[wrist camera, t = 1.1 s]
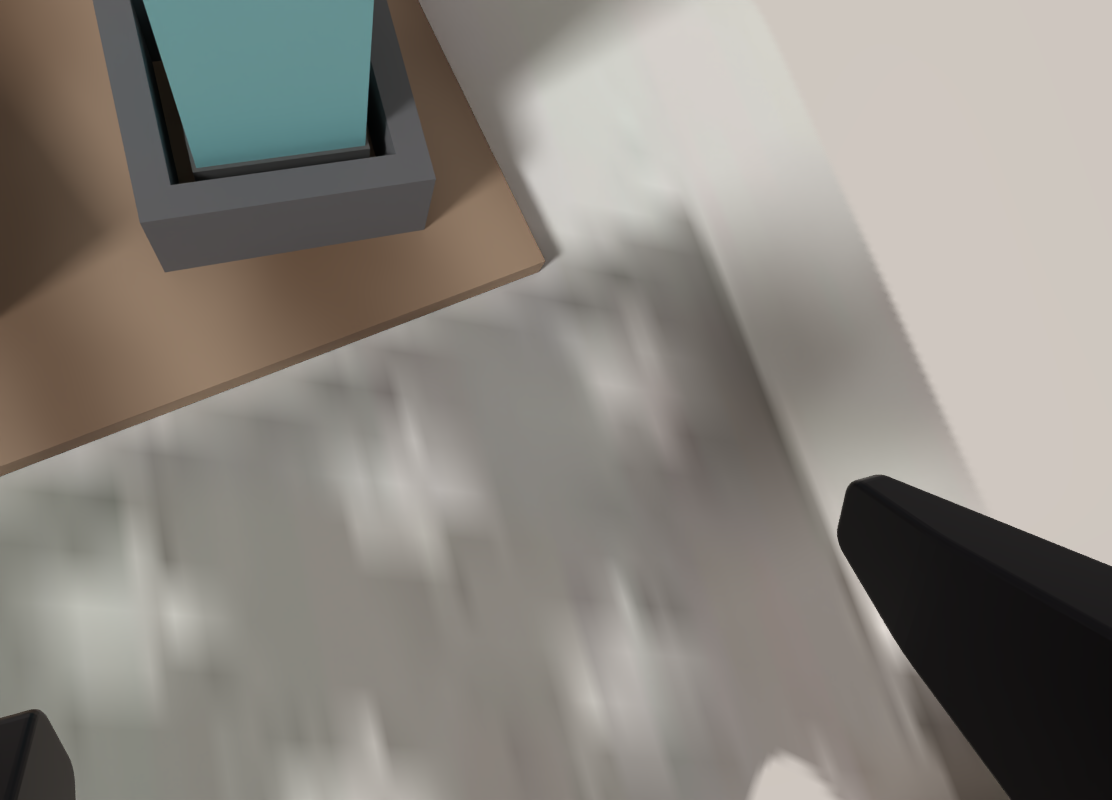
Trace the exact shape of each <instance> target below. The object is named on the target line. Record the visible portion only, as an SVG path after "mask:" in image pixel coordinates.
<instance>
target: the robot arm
mask: <svg viewBox="0 0 1112 800" xmlns="http://www.w3.org/2000/svg"><path fill="white" fill-rule="evenodd" d="M837 537H838V542H839V545H840V548H841V550H842V552H843V554H844V555H845V557H846V559H847V560H848V562H849V564H850V565H851V567H852V569H853V570H854V572H855V574H856V575H857V577H858V579H859V581H860V582H861V584H862V586H863V587H864V589H865V591H866V592H867V594H868V596H869V597H870V599H871V601H872V602H873V604H874V606H875V607H876V609H877V611H878V613H879V614H880V616H881V618H882V619H883V621H884V623H885V624H886V626H887V628H888V629H889V631H890V633H891V634H892V636H893V638H894V639H895V641H896V642H897V644H898V645H899V647H900V649H901V650H902V652H903V653H904V655H905V656H906V657H907V659H908V660H909V662H910V663H911V665H912V666H913V667H914V669H915V670H916V672H917V673H918V674H919V676H920V677H921V678H922V680H923V681H924V682H925V684H926V685H927V687H928V688H929V689H930V691H931V692H932V693H933V695H934V696H935V697H936V699H937V700H938V701H939V703H940V704H941V706H942V707H943V708H944V710H945V711H946V712H947V714H948V715H949V716H950V718H951V719H952V720H953V722H954V723H955V725H956V726H957V727H958V729H959V730H960V731H961V733H962V734H963V735H964V737H965V738H966V739H967V741H968V742H969V744H970V745H971V746H972V748H973V749H974V750H975V752H976V753H977V754H978V756H979V757H980V758H981V760H982V761H983V763H984V764H985V765H986V767H987V768H988V769H989V771H990V772H991V773H992V775H993V776H994V777H995V779H996V780H997V781H998V783H999V784H1000V786H1001V787H1002V788H1003V790H1004V791H1005V792H1006V794H1007V795H1008V796H1009V798H1010V799H1011V800H1112V566H1110V565H1107V564H1105V563H1102V562H1099V561H1097V560H1095V559H1092V558H1089V557H1087V556H1084V555H1082V554H1080V553H1077V552H1075V551H1072V550H1070V549H1067V548H1065V547H1062V546H1060V545H1057V544H1055V543H1052V542H1050V541H1047V540H1045V539H1042V538H1040V537H1037V536H1035V535H1032V534H1030V533H1027V532H1025V531H1022V530H1020V529H1017V528H1015V527H1012V526H1010V525H1008V524H1005V523H1002V522H1000V521H997V520H995V519H993V518H990V517H988V516H985V515H983V514H980V513H978V512H975V511H973V510H970V509H968V508H965V507H963V506H960V505H958V504H955V503H953V502H950V501H948V500H945V499H943V498H940V497H938V496H935V495H933V494H930V493H928V492H925V491H923V490H920V489H918V488H915V487H913V486H910V485H908V484H905V483H903V482H900V481H898V480H896V479H893V478H891V477H888V476H885V475H873V476H869V477H866V478H862V479H859V480H855V481H853V482H851V483H850V485H849V486H848V487H847V490H846V493H845V497H844V502H843V506H842V510H841V515H840V519H839V524H838V528H837ZM0 800H76V799H75V778H74V772H73V767H72V764H71V761H70V758H69V756H68V754H67V753H66V751H65V749H64V747H63V745H62V743H61V742H60V740H59V738H58V736H57V734H56V732H55V731H54V729H53V727H52V725H51V723H50V721H49V720H48V718H47V716H46V715H45V714H44V713H43V712H42V711H41V710H38V709H31V710H28V711H24V712H20V713H17V714H13V715H10V716H6V717H2V718H0Z"/></svg>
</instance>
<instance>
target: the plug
mask: <svg viewBox="0 0 1112 800" xmlns="http://www.w3.org/2000/svg"><path fill="white" fill-rule="evenodd" d="M143 2H144V5H145V8H146V12H147V15H148V18H149V21H150V24H151V27H152V30H153V34H154V37H155V40H156V43H157V46H158V49H159V52H160V56H161V59H162V62H163V65H164V68H165V71H166V74H167V78H168V81H169V84H170V87H171V90H172V93H173V96H174V100H175V103H176V106H177V109H178V112H179V115H180V118H181V123H182V127H183V132H184V136H185V141H186V145H187V149H188V154H189V158H190V163H191V167H192V172H193V175H194V178H195V181H196V182H197V181H204V180H211V179H218V178H226V177H233V176H240V175H247V174H255V173H262V172H269V171H276V170H284V169H291V168H298V167H305V166H313V165H320V164H327V163H334V162H342V161H349V160H356V159H363V158H369V157H370V146H369V142H368V139H367V135H366V123H367V107H368V90H369V73H370V57H371V40H372V24H373V7H374V0H143Z"/></svg>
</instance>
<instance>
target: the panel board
mask: <svg viewBox="0 0 1112 800" xmlns="http://www.w3.org/2000/svg"><path fill="white" fill-rule="evenodd" d="M387 3H388V7H389V10H390V14H391V17H392V21H393V25H394V28H395V32H396V36H397V39H398V43H399V46H400V50H401V54H402V57H403V61H404V65H405V68H406V72H407V76H408V79H409V83H410V86H411V90H412V94H413V97H414V101H415V105H416V108H417V112H418V115H419V119H420V123H421V126H422V130H423V134H424V137H425V141H426V145H427V148H428V152H429V155H430V159H431V163H432V166H433V170H434V174H435V177H436V181H435V185H434V190H433V194H432V198H431V203H430V207H429V212H428V216H427V220H426V225H425V229H424V230H419V231H413V232H407V233H401V234H395V235H389V236H383V237H377V238H371V239H365V240H359V241H353V242H347V243H340V244H334V245H328V246H322V247H316V248H310V249H304V250H298V251H292V252H286V253H280V254H274V255H268V256H262V257H256V258H250V259H244V260H238V261H232V262H226V263H219V264H213V265H207V266H201V267H195V268H189V269H183V270H177V271H171V272H164V270H163V268H162V266H161V264H160V262H159V260H158V258H157V256H156V254H155V252H154V250H153V248H152V246H151V244H150V242H149V240H148V238H147V236H146V234H145V232H144V230H143V228H142V226H141V224H140V222H139V217H138V212H137V208H136V203H135V198H134V194H133V189H132V184H131V179H130V175H129V170H128V165H127V161H126V156H125V151H124V146H123V142H122V137H121V132H120V128H119V123H118V118H117V113H116V109H115V104H114V99H113V95H112V90H111V85H110V81H109V76H108V71H107V66H106V62H105V57H104V52H103V48H102V43H101V38H100V33H99V29H98V24H97V19H96V15H95V10H94V5H93V0H0V476H2V475H5V474H8V473H10V472H13V471H16V470H18V469H21V468H23V467H26V466H29V465H31V464H34V463H37V462H39V461H42V460H44V459H47V458H50V457H52V456H55V455H58V454H60V453H63V452H66V451H68V450H71V449H73V448H76V447H79V446H81V445H84V444H87V443H89V442H92V441H95V440H97V439H100V438H102V437H105V436H108V435H110V434H113V433H116V432H118V431H121V430H123V429H126V428H129V427H131V426H134V425H137V424H139V423H142V422H145V421H147V420H150V419H152V418H155V417H158V416H160V415H163V414H166V413H168V412H171V411H173V410H176V409H179V408H181V407H184V406H187V405H189V404H192V403H195V402H197V401H200V400H202V399H205V398H208V397H210V396H213V395H216V394H218V393H221V392H223V391H226V390H229V389H231V388H234V387H237V386H239V385H242V384H245V383H247V382H250V381H252V380H255V379H258V378H260V377H263V376H266V375H268V374H271V373H273V372H276V371H279V370H281V369H284V368H287V367H289V366H292V365H295V364H297V363H300V362H302V361H305V360H308V359H310V358H313V357H316V356H318V355H321V354H323V353H326V352H329V351H331V350H334V349H337V348H339V347H342V346H345V345H347V344H350V343H352V342H355V341H358V340H360V339H363V338H366V337H368V336H371V335H373V334H376V333H379V332H381V331H384V330H387V329H389V328H392V327H395V326H397V325H400V324H402V323H405V322H408V321H410V320H413V319H416V318H418V317H421V316H423V315H426V314H429V313H431V312H434V311H437V310H439V309H442V308H445V307H447V306H450V305H452V304H455V303H458V302H460V301H463V300H466V299H468V298H471V297H473V296H476V295H479V294H481V293H484V292H487V291H489V290H492V289H495V288H497V287H500V286H502V285H505V284H508V283H510V282H513V281H516V280H518V279H521V278H523V277H526V276H529V275H531V274H534V273H537V272H539V271H540V269H541V268H542V266H543V264H544V263H545V260H544V257H543V255H542V253H541V251H540V249H539V247H538V245H537V243H536V241H535V239H534V237H533V235H532V233H531V231H530V229H529V227H528V225H527V223H526V221H525V219H524V217H523V214H522V212H521V210H520V208H519V206H518V204H517V202H516V200H515V198H514V196H513V194H512V192H511V190H510V188H509V186H508V184H507V182H506V180H505V178H504V176H503V173H502V171H501V169H500V167H499V165H498V163H497V161H496V159H495V157H494V155H493V153H492V151H491V149H490V147H489V145H488V143H487V141H486V139H485V137H484V135H483V132H482V130H481V128H480V126H479V124H478V122H477V120H476V118H475V116H474V114H473V112H472V110H471V108H470V106H469V104H468V102H467V100H466V98H465V96H464V94H463V91H462V89H461V87H460V85H459V83H458V81H457V79H456V77H455V75H454V73H453V71H452V69H451V67H450V65H449V63H448V61H447V59H446V57H445V55H444V53H443V50H442V48H441V46H440V44H439V42H438V40H437V38H436V36H435V34H434V32H433V30H432V28H431V26H430V24H429V22H428V20H427V18H426V16H425V14H424V12H423V9H422V7H421V5H420V3H419V1H418V0H387ZM152 63H153V67H154V72H155V76H156V81H157V85H158V90H159V94H160V99H161V103H162V108H163V112H164V117H165V121H166V126H167V130H168V135H169V140H170V144H171V149H172V153H173V158H174V162H175V167H176V171H177V176H178V180H179V184H182V183H190V182H196V181H195V178H194V175H193V172H192V167H191V163H190V158H189V154H188V149H187V145H186V141H185V136H184V132H183V127H182V123H181V118H180V115H179V112H178V109H177V106H176V103H175V100H174V96H173V93H172V90H171V87H170V84H169V81H168V78H167V74H166V71H165V68H164V65H163V62H162V61H154V62H152ZM366 135H367V139H368V142H369V146H370V157H369V158H371V157H376V156H375V153H374V149H373V145H372V141H371V137H370V134H369V130H368V126H367V123H366Z"/></svg>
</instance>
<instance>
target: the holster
mask: <svg viewBox="0 0 1112 800" xmlns="http://www.w3.org/2000/svg"><path fill="white" fill-rule="evenodd" d="M93 5H94V10H95V15H96V19H97V24H98V29H99V33H100V38H101V43H102V48H103V52H104V57H105V62H106V66H107V71H108V76H109V81H110V85H111V90H112V95H113V99H114V104H115V109H116V113H117V118H118V123H119V128H120V132H121V137H122V142H123V146H124V151H125V156H126V161H127V165H128V170H129V175H130V179H131V184H132V189H133V194H134V198H135V203H136V208H137V212H138V217H139V222H140V224H141V226H142V228H143V230H144V232H145V234H146V236H147V238H148V240H149V242H150V244H151V246H152V248H153V250H154V252H155V254H156V256H157V258H158V260H159V262H160V264H161V266H162V268H163V270H164V272H171V271H177V270H183V269H189V268H195V267H201V266H207V265H213V264H219V263H226V262H232V261H238V260H244V259H250V258H256V257H262V256H268V255H274V254H280V253H286V252H292V251H298V250H304V249H310V248H316V247H322V246H328V245H334V244H340V243H347V242H353V241H359V240H365V239H371V238H377V237H383V236H389V235H395V234H401V233H407V232H413V231H419V230H424V229H425V225H426V220H427V216H428V212H429V207H430V203H431V198H432V194H433V190H434V185H435V181H436V177H435V174H434V170H433V166H432V163H431V159H430V155H429V152H428V148H427V145H426V141H425V137H424V134H423V130H422V126H421V123H420V119H419V115H418V112H417V108H416V105H415V101H414V97H413V94H412V90H411V86H410V83H409V79H408V76H407V72H406V68H405V65H404V61H403V57H402V54H401V50H400V46H399V43H398V39H397V36H396V32H395V28H394V25H393V21H392V17H391V14H390V10H389V7H388V3H387V0H374V7H373V24H372V40H371V57H370V73H369V90H368V107H367V126H368V130H369V134H370V137H371V141H372V145H373V149H374V153H375V156H376V157H371V158H363V159H356V160H349V161H342V162H334V163H327V164H320V165H313V166H305V167H298V168H291V169H284V170H276V171H269V172H262V173H255V174H247V175H240V176H233V177H226V178H218V179H211V180H204V181H197V182H190V183H182V184H179V180H178V176H177V171H176V167H175V162H174V158H173V153H172V149H171V144H170V140H169V135H168V130H167V126H166V121H165V117H164V112H163V108H162V103H161V99H160V94H159V90H158V85H157V81H156V76H155V72H154V67H153V63H152V62H154V61H162V59H161V56H160V52H159V49H158V46H157V43H156V40H155V37H154V34H153V30H152V27H151V24H150V21H149V18H148V15H147V12H146V8H145V5H144V2H143V0H93Z"/></svg>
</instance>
